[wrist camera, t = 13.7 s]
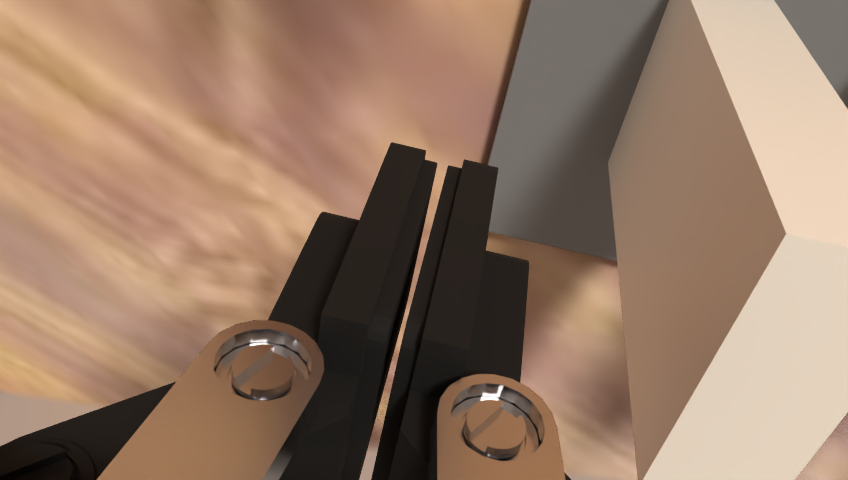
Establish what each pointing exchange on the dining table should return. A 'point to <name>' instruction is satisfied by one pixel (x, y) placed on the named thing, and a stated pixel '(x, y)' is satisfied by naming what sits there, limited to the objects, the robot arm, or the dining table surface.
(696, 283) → the domino
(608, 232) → the mat
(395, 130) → the dining table surface
